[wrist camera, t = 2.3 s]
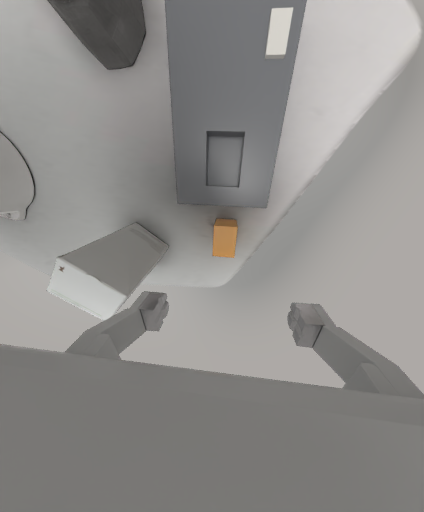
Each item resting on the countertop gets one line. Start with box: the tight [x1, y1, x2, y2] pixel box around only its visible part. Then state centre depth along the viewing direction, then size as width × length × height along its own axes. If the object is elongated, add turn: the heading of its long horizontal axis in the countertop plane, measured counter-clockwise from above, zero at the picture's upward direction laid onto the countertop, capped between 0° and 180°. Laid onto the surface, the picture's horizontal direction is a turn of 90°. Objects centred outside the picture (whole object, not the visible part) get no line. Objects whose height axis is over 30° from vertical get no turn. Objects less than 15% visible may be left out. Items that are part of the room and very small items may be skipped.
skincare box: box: [47, 223, 169, 321], centre depth 24 cm, size 8×7×16 cm
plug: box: [213, 218, 238, 258], centre depth 26 cm, size 4×5×6 cm
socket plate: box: [165, 0, 307, 208], centre depth 20 cm, size 14×20×4 cm
